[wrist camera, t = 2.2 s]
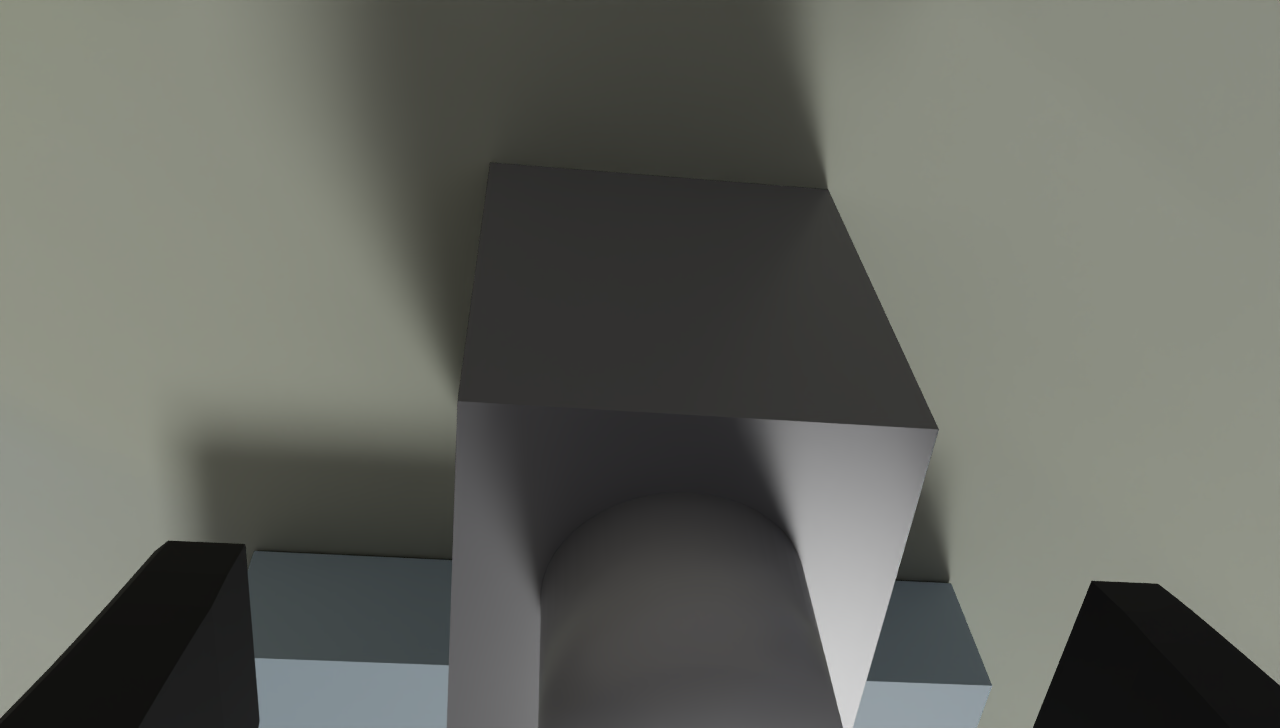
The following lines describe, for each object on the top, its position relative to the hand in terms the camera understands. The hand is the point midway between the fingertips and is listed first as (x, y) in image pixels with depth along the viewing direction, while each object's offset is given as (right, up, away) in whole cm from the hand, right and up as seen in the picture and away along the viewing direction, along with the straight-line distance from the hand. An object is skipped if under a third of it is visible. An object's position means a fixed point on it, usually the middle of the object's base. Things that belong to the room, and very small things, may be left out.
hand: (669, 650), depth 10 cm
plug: (0, +3, +5) cm, 6 cm away
